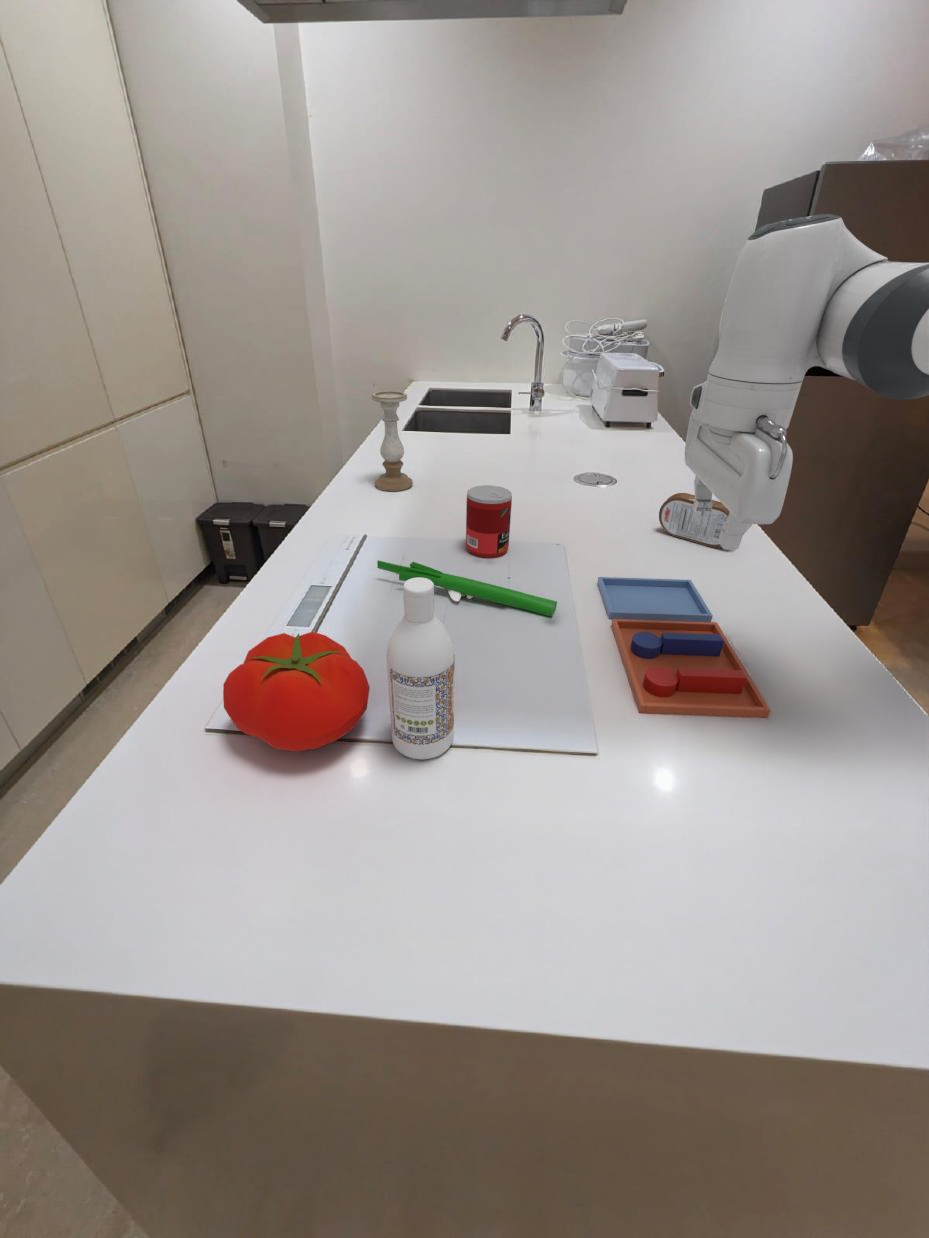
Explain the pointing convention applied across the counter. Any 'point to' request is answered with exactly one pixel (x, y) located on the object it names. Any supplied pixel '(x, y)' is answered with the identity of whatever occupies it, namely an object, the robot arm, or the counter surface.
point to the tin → (693, 520)
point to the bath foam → (421, 676)
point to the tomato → (296, 692)
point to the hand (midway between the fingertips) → (713, 529)
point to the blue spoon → (676, 644)
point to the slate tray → (652, 599)
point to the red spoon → (692, 681)
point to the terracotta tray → (686, 702)
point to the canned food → (488, 520)
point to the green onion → (472, 588)
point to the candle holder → (391, 444)
